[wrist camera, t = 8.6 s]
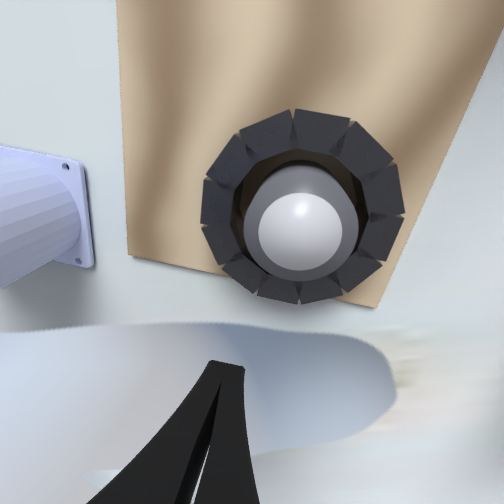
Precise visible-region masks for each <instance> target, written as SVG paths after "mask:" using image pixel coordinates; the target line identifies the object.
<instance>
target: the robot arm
mask: <svg viewBox="0 0 504 504" xmlns="http://www.w3.org/2000/svg"><path fill="white" fill-rule="evenodd" d="M66 164H68V166H69V169H68V168H67V166H66ZM79 259H80V260H81V261H80V260H79ZM50 261H57V262H61V263H66V264H70V265H75V266H79V267H84V268H89V267H91V266H93V264H94V258H93V248H92V239H91V230H90V221H89V212H88V203H87V193H86V184H85V175H84V168H83V165H82V164H81V163H80V162H79V161H77V160H73V159H68V158H63V157H57V156H52V155H47V154H42V153H37V152H32V151H27V150H22V149H17V148H12V147H7V146H2V145H0V290H1V289H3V288H5V287H7V286H8V285H10V284H12V283H13V282H15V281H17V280H19V279H20V278H22V277H24V276H26V275H27V274H29V273H31V272H33V271H34V270H36V269H38V268H40V267H41V266H43V265H45V264H46V263H48V262H50ZM244 374H245V369H244V367H243V366H238V365H233V364H228V363H224V362H219V361H215V360H211V361H209V362H208V364H207V366H206V368H205V370H204V372H203V373H202V375H201V376H200V378H199V379H198V381H197V383H196V384H195V385H194V387H193V388H192V390H191V391H190V392H189V394H188V395H187V396H186V398H185V399H184V400H183V402H182V403H181V405H180V406H179V407H178V408H177V410H176V411H175V412H174V414H173V415H172V416H171V417H170V418H169V419H168V421H167V422H166V423H165V424H164V425H163V427H162V428H161V429H160V430H159V431H158V433H157V434H156V435H155V436H154V437H153V438H152V439H151V440H150V442H149V443H148V444H147V445H146V446H145V447H144V448H143V449H142V450H141V451H140V452H139V453H138V454H137V455H136V457H135V458H134V459H133V460H132V461H131V462H130V463H129V464H128V465H127V466H126V467H125V468H124V469H123V470H122V471H121V472H120V473H119V474H118V475H117V476H116V477H115V478H114V479H113V480H112V481H110V482H109V483H108V484H107V485H106V486H105V487H104V488H103V489H102V490H101V491H100V492H99V493H98V494H97V495H95V496H94V497H93V498H92V499H91V500H90V501H89V502H88V503H87V504H190V503H191V500H192V496H193V493H194V490H195V487H196V484H197V481H198V478H199V475H200V472H201V469H202V466H203V463H204V460H205V457H206V454H207V451H208V448H209V452H208V455H207V459H206V462H205V466H204V469H203V473H202V476H201V480H200V484H199V487H198V491H197V494H196V498H195V501H194V504H260V503H259V498H258V494H257V489H256V484H255V479H254V474H253V469H252V464H251V458H250V451H249V445H248V438H247V430H246V420H245V410H244ZM209 445H210V447H209Z"/></svg>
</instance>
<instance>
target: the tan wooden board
mask: <svg viewBox="0 0 504 504" xmlns="http://www.w3.org/2000/svg"><path fill="white" fill-rule="evenodd" d="M116 6H117V28H118V50H119V71H120V93H121V115H122V137H123V159H124V180H125V202H126V224H127V246H128V255H132V256H136V257H141V258H146V259H150V260H155V261H160V262H164V263H169V264H173V265H178V266H183V267H187V268H192V269H197V270H201V271H206V272H211V273H215V274H220V275H225V276H229V275H228V274H227V273H225V272H224V271H223V270H222V269H221V268H222V266H223V264H222V265H219V266H218V264H217V262H216V260H215V258H214V255H213V253H212V251H211V249H210V247H209V245H208V242H207V240H206V238H205V236H204V234H203V232H202V230H201V228H202V226H203V225H204V224H200V217H201V205H202V192H203V180H204V179H205V178H206V177H208V176H207V175H206V173H207V171H208V170H209V168H210V167H211V166H212V164H213V163H214V161H215V160H216V159H217V157H218V156H219V154H220V153H221V152H222V150H223V149H224V147H225V146H226V145H227V143H228V142H229V140H230V139H231V138H232V136H233V135H234V134H236V133H240V132H239V130H240V129H243V128H245V127H247V126H250V125H252V124H255V123H257V122H259V121H262V120H264V119H266V118H269V117H271V116H274V115H276V114H278V113H281V112H283V111H285V110H288V109H290V111H291V115H292V118H294V113H295V108H297V109H303V110H308V111H314V112H320V113H325V114H331V115H337V116H342V117H348V118H351V119H350V121H357V122H358V123H359V124H360V125H361V126H362V127H363V128H364V129H365V130H366V131H367V132H368V133H369V134H370V135H371V136H372V137H373V138H374V139H375V140H376V141H377V142H378V143H379V144H380V145H381V146H382V147H383V148H384V149H385V150H386V151H387V152H388V153H389V154H390V155H391V156H392V157H393V158H394V159H393V160H392V162H394V163H396V164H397V167H398V173H399V179H400V185H401V190H402V196H403V202H404V208H405V213H404V214H400V215H401V216H402V217H404V218H405V219H404V221H403V223H402V226H401V228H400V230H399V233H398V235H397V237H396V240H395V242H394V244H393V247H392V249H391V251H390V254H389V256H388V258H387V261H386V262H385V261H380V262H381V263H382V265H383V266H382V267H381V268H379V269H378V270H377V271H376V272H374V273H373V274H372V275H370V276H369V277H368V278H367V279H365V280H364V281H363V282H361V283H360V284H359V285H358V286H356V287H355V288H354V289H353V290H351V291H350V292H349V293H347V292H346V291H344V290H343V289H342V288H341V289H342V293H343V295H342V296H338V297H333V298H331V299H336V300H341V301H345V302H350V303H355V304H359V305H364V306H369V307H373V308H377V307H378V304H379V302H380V300H381V298H382V295H383V293H384V291H385V289H386V287H387V284H388V282H389V280H390V278H391V276H392V273H393V271H394V269H395V267H396V264H397V262H398V260H399V258H400V256H401V253H402V251H403V249H404V247H405V244H406V242H407V240H408V238H409V236H410V233H411V231H412V229H413V227H414V225H415V222H416V220H417V218H418V216H419V213H420V211H421V209H422V207H423V205H424V202H425V200H426V198H427V196H428V193H429V191H430V189H431V187H432V185H433V182H434V180H435V178H436V176H437V173H438V171H439V169H440V167H441V165H442V162H443V160H444V158H445V156H446V154H447V151H448V149H449V147H450V145H451V142H452V140H453V138H454V136H455V134H456V131H457V129H458V127H459V125H460V122H461V120H462V118H463V116H464V114H465V111H466V109H467V107H468V105H469V103H470V100H471V98H472V96H473V94H474V91H475V89H476V87H477V85H478V83H479V80H480V78H481V76H482V74H483V71H484V69H485V67H486V65H487V63H488V60H489V58H490V56H491V54H492V52H493V49H494V47H495V45H496V43H497V40H498V38H499V36H500V34H501V32H502V29H503V27H504V0H116ZM292 160H309V161H314V162H316V163H319V164H321V165H322V166H324V167H325V168H327V169H328V170H329V171H330V172H331V173H332V174H333V175H334V177H335V178H336V180H337V181H338V183H339V184H340V186H341V187H342V189H343V190H344V191H345V193H346V194H347V196H348V197H349V199H350V200H351V202H352V204H353V206H354V208H355V206H356V204H357V198H356V194H355V190H354V186H353V181H352V177H351V173H350V171H349V170H348V169H347V168H346V167H345V166H344V165H343V164H342V163H341V162H340V161H339V160H338V159H337V158H335V157H334V156H333V155H328V154H323V153H317V152H312V151H307V150H301V149H296V148H293V149H290V150H287V151H285V152H282V153H280V154H277V155H274V156H272V157H269V158H266V159H264V160H261V161H258V162H257V164H256V165H255V166H254V167H253V169H252V170H251V171H250V172H249V174H248V175H247V176H246V177H245V179H244V182H243V189H242V196H241V203H240V210H241V213H242V215H243V218H244V221H245V216H246V213H247V210H248V208H249V206H250V204H251V202H252V200H253V199H254V197H255V195H256V193H257V191H258V189H259V187H260V186H261V184H262V182H263V180H264V179H265V177H266V176H267V175H268V174H269V173H270V172H271V171H272V170H273V169H274V168H276V167H277V166H279V165H281V164H283V163H285V162H288V161H292ZM229 277H231V276H229Z"/></svg>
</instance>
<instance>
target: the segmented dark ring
mask: <svg viewBox="0 0 504 504" xmlns="http://www.w3.org/2000/svg"><path fill="white" fill-rule="evenodd" d="M350 119H351V118H348V117H342V116H337V115H331V114H325V113H320V112H314V111H308V110H303V109H297V108H295V113H294V118H292V115H291V111H290V109H288V110H285V111H283V112H281V113H278V114H276V115H274V116H271V117H269V118H266V119H264V120H262V121H259V122H257V123H255V124H252V125H250V126H247V127H245V128H243V129H240V130H239V132H240V133H236V134H234V135H233V136H232V138H231V139H230V140H229V142H228V143H227V145H226V146H225V147H224V149H223V150H222V152H221V153H220V154H219V156H218V157H217V159H216V160H215V161H214V163H213V164H212V166H211V167H210V168H209V170H208V171H207V173H206V175H207V176H208V177H206V178H205V179H204V180H203V192H202V205H201V217H200V224H204V225H203V226H202V228H201V230H202V232H203V234H204V236H205V238H206V240H207V242H208V245H209V247H210V249H211V251H212V253H213V255H214V258H215V260H216V262H217V264H218V266H219V265H222V264H223V266H222V268H221V269H222V270H223V271H224V272H225V273H227V274H228V275H229V276H231V277H232V278H233V279H235V280H236V281H237V282H238V283H240V284H241V285H242V286H244V287H245V288H246V289H247V290H249V291H250V292H251V293H254V292H255V291H256V290H257V289H258V294H257V296H261V297H265V298H270V299H275V300H279V301H284V302H288V303H293V304H297V303H298V299H299V298H300V301H301V304H306V303H310V302H315V301H320V300H324V299H329V298H333V297H338V296H342V295H343V293H342V289H343V290H344V291H346V292H347V293H349V292H350V291H351V290H353V289H354V288H355V287H356V286H358V285H359V284H360V283H361V282H363V281H364V280H365V279H367V278H368V277H369V276H370V275H372V274H373V273H374V272H376V271H377V270H378V269H379V268H381V267H382V266H383V265H382V263H381V262H380V261H385V262H386V261H387V258H388V256H389V254H390V251H391V249H392V247H393V244H394V242H395V240H396V237H397V235H398V233H399V230H400V228H401V226H402V223H403V221H404V219H405V218H404V217H402V216H401V215H400V214H404V213H405V208H404V202H403V196H402V190H401V185H400V179H399V173H398V167H397V164H396V163H394V162H392V160H393V159H394V158H393V157H392V156H391V155H390V154H389V153H388V152H387V151H386V150H385V149H384V148H383V147H382V146H381V145H380V144H379V143H378V142H377V141H376V140H375V139H374V138H373V137H372V136H371V135H370V134H369V133H368V132H367V131H366V130H365V129H364V128H363V127H362V126H361V125H360V124H359V123H358V122H357V121H350ZM293 148H296V149H301V150H307V151H312V152H317V153H323V154H328V155H333V156H334V157H335V158H337V159H338V160H339V161H340V162H341V163H342V164H343V165H344V166H345V167H346V168H347V169H348V170H349V171H350V173H351V177H352V181H353V186H354V190H355V194H356V198H357V204H356V206H355V211H356V214H357V218H358V237H357V241H356V244H355V246H354V249H353V251H352V253H351V254H350V256H349V257H348V259H347V260H346V261H345V262H344V263H343V264H342V265H341V266H340V267H339V268H338V269H336V270H335V271H333V272H332V273H330V274H328V275H326V276H324V277H321V278H318V279H315V280H310V281H290V280H285V279H282V278H279V277H276V276H274V275H272V274H270V273H269V272H267V271H266V270H264V269H263V268H262V267H261V266H259V265H258V263H257V262H256V261H255V260H254V259H253V257H252V256H251V254H250V252H249V250H248V248H247V245H246V242H245V238H244V218H243V215H242V213H241V210H240V203H241V196H242V189H243V182H244V179H245V177H246V176H247V175H248V174H249V172H250V171H251V170H252V169H253V167H254V166H255V165H256V164H257V162H258V161H261V160H264V159H266V158H269V157H272V156H274V155H277V154H280V153H282V152H285V151H287V150H290V149H293ZM341 288H342V289H341Z"/></svg>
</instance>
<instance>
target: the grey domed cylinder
mask: <svg viewBox="0 0 504 504" xmlns="http://www.w3.org/2000/svg"><path fill="white" fill-rule="evenodd" d="M357 237H358V218H357V214H356V211H355V208H354V206H353V204H352V202H351V200H350V199H349V197H348V196H347V194H346V193H345V191H344V190H343V189H342V187H341V186H340V184H339V183H338V181H337V180H336V178H335V177H334V175H333V174H332V173H331V172H330V171H329V170H328V169H327V168H325V167H324V166H322V165H321V164H319V163H316V162H314V161H309V160H292V161H288V162H285V163H283V164H281V165H279V166H277V167H276V168H274V169H273V170H272V171H271V172H270V173H269V174H268V175H267V176H266V177H265V179H264V180H263V182H262V184H261V186H260V187H259V189H258V191H257V193H256V195H255V197H254V199H253V200H252V202H251V204H250V206H249V208H248V210H247V213H246V216H245V221H244V238H245V242H246V245H247V248H248V250H249V252H250V254H251V256H252V257H253V259H254V260H255V261H256V262H257V263H258V265H259V266H261V267H262V268H263V269H264V270H266V271H267V272H269V273H270V274H272V275H274V276H276V277H279V278H282V279H285V280H290V281H310V280H315V279H318V278H321V277H324V276H326V275H328V274H330V273H332V272H333V271H335V270H336V269H338V268H339V267H340V266H341V265H342V264H343V263H344V262H345V261H346V260H347V259H348V257H349V256H350V254H351V253H352V251H353V249H354V246H355V244H356V241H357Z"/></svg>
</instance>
